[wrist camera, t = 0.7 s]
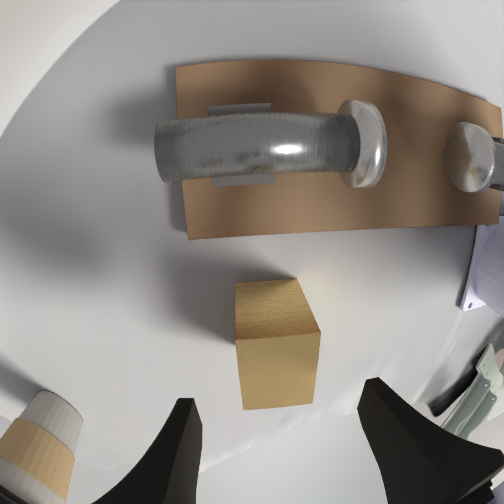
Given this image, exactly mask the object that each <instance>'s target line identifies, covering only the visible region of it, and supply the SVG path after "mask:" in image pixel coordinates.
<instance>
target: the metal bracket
mask: <svg viewBox="0 0 504 504" xmlns="http://www.w3.org/2000/svg"><path fill="white" fill-rule="evenodd" d="M494 353H495V351H494V348H493V345H492V344H488V345H487V347H486V349H485V351H484V353H483V355H482V356H481V358H480V360H479V362H478V363H477V365H476V369H477V371H478V373H477V376H476V377H475V379H474V380H473V382H472V383H471V385H470V387H469V388H468V390H467V391H466V393H465V394H464V396H463V397H462V398H461V400H460V401H459V403H458V404H457V406H456V407H455V409H454V410H453V411H452V412H451V414H450V415H449V416H448V418H447V419H446V420H445V421H444V423H443V424H442V425H441V428H443V429H444V430H446V431H448V432H450V433H452V434H454V435H456V436H458V437H460V438H463V439H465V440H467V439H468V436H469V434H470V433H471V432H472V431H473V430H474V429H475V428H477V426H479V425H480V424H481V423H482V422H483V420H484V419H485V418H486V416H487V415H488V413H489V412H490V410H491V409H492V407H493V406H494V404H495V402H496V401H497V396H496V394H497V392H498V391H499V389H500V387H501V386H502V384H503V375H502V374H500V371H499V368H498V365H497V362H496V359H495V356H494ZM493 398H494V400H492V399H493Z"/></svg>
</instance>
